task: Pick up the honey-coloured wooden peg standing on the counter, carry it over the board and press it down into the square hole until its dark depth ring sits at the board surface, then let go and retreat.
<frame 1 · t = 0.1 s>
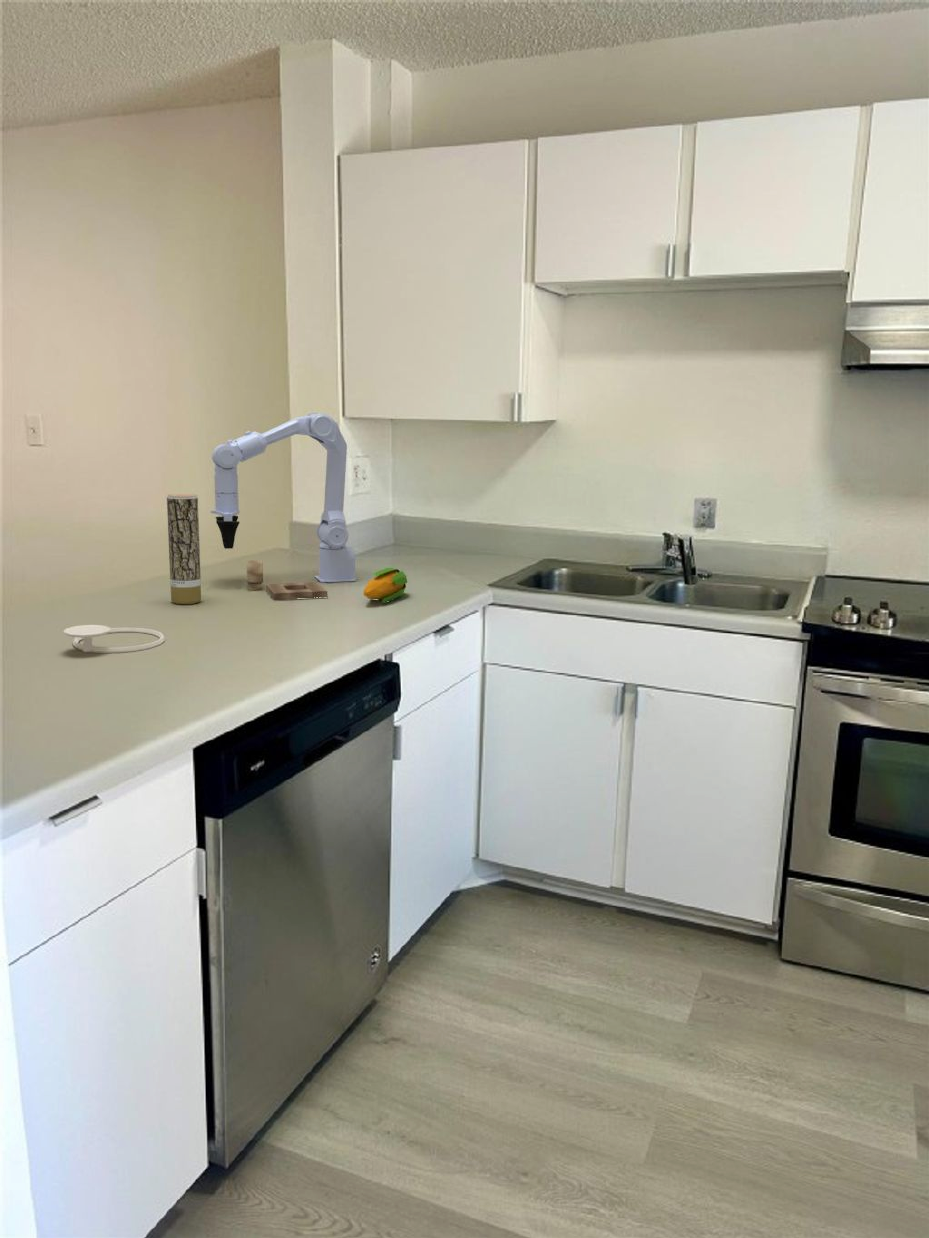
hand: (228, 546, 235), 10 cm above the table, tool pointing down, fingers open, 7 cm apart
peg: (255, 589, 232), on the table
hand towel holder: (113, 646, 177), on the table
paper tube: (186, 603, 215), on the table
corn: (384, 601, 225), on the table
board: (295, 594, 227), on the table
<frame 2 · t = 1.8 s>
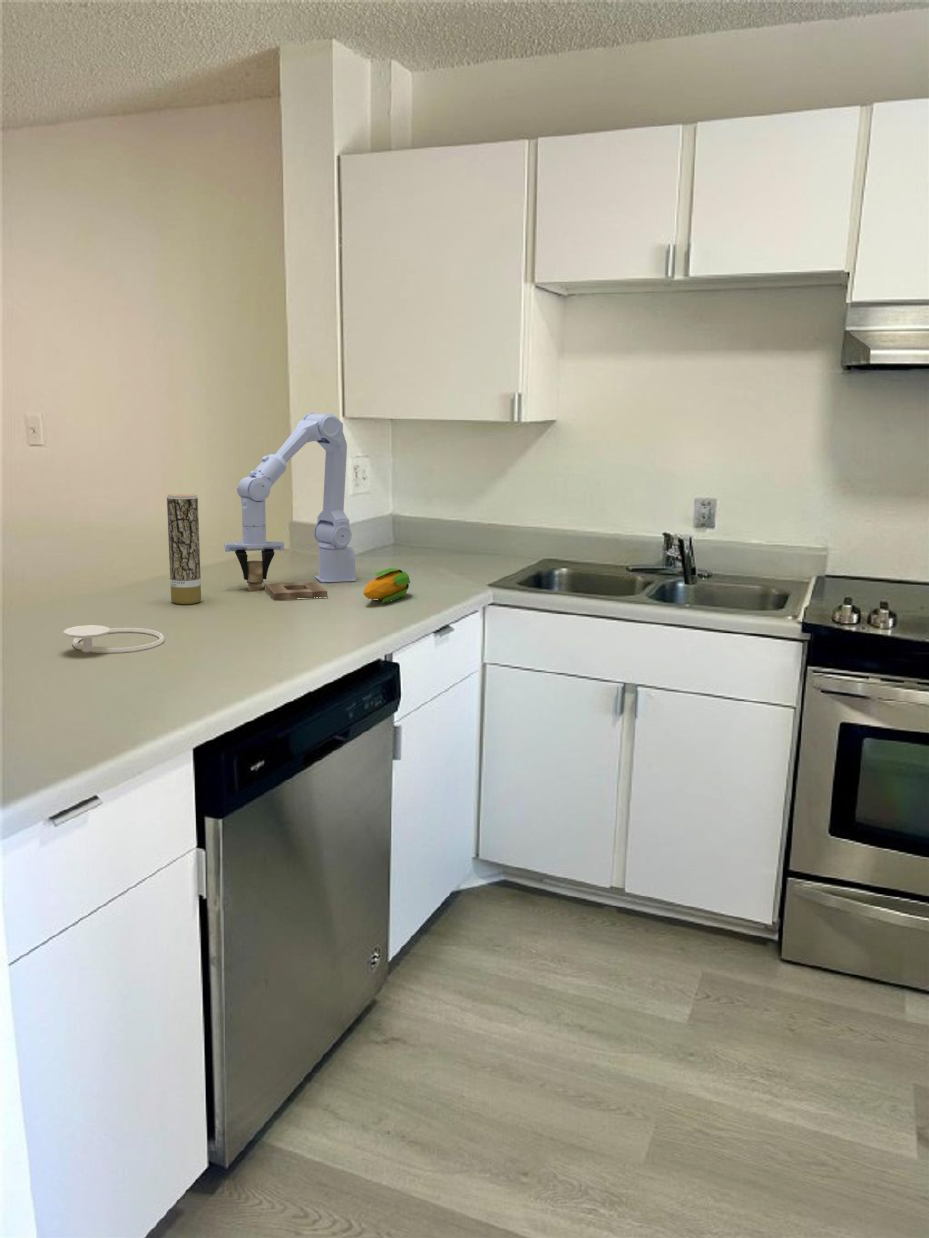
hand: (255, 578, 232), 3 cm above the table, tool pointing down, fingers closed on peg, 4 cm apart
peg: (255, 589, 232), on the table, touching gripper
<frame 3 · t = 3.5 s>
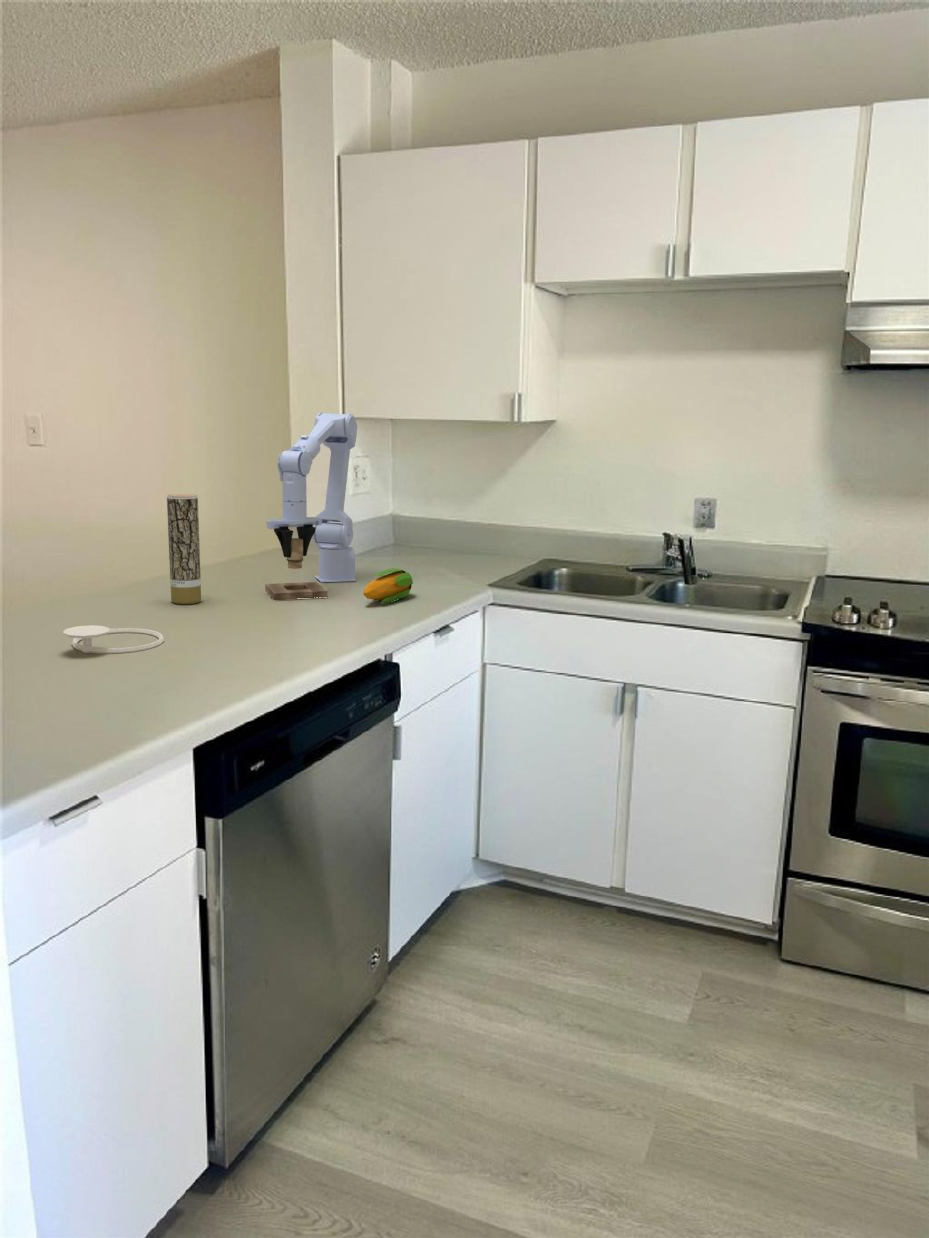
hand: (295, 556, 225), 10 cm above the table, tool pointing down, fingers closed on peg, 4 cm apart
peg: (294, 567, 226), point 7 cm above the table, touching gripper
when the fingers open (3 cm above the table, at t = 5.1 s): peg stays where it is, resting in board.
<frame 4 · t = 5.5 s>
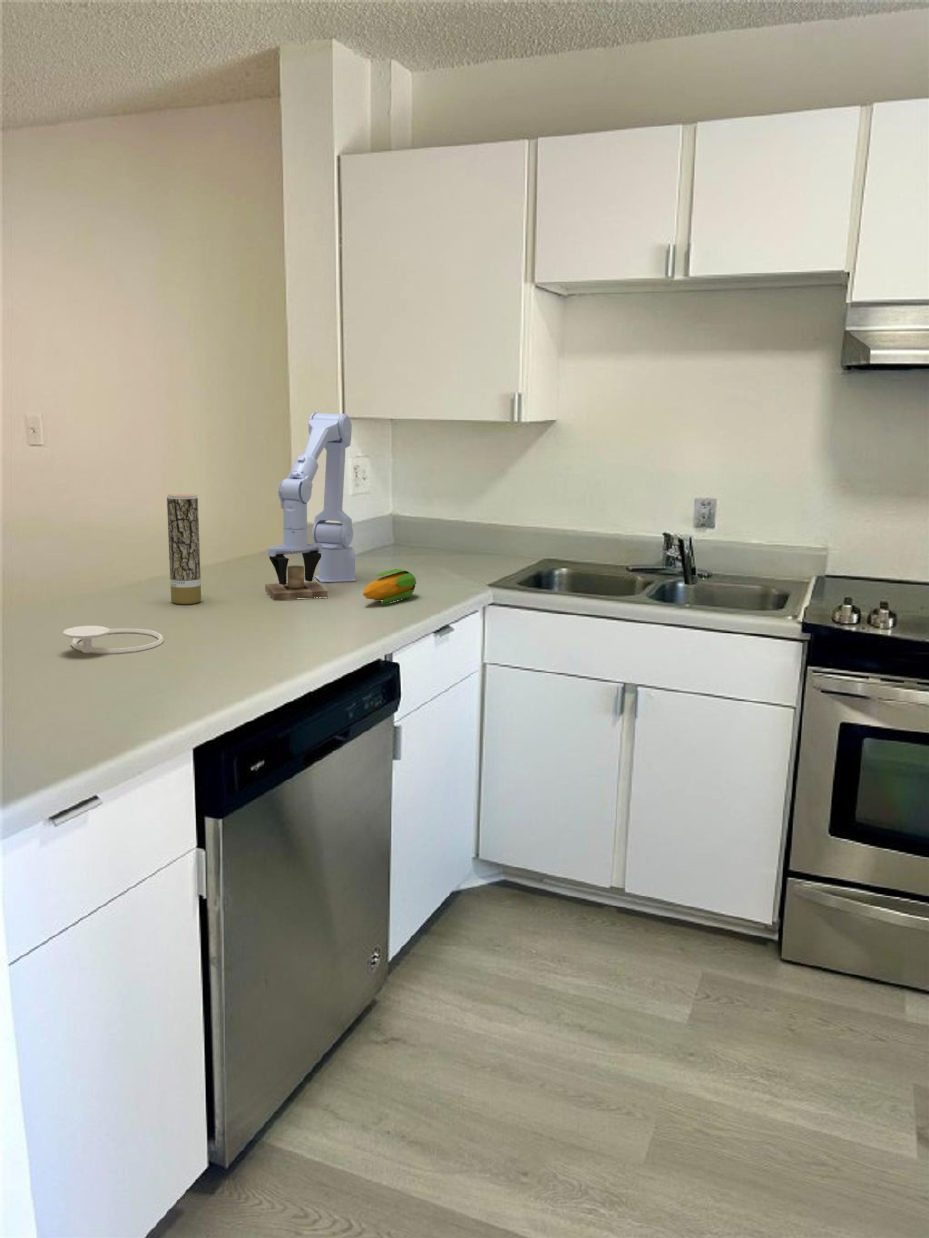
hand: (295, 582, 227), 3 cm above the table, tool pointing down, fingers open, 7 cm apart
peg: (295, 594, 228), resting in board
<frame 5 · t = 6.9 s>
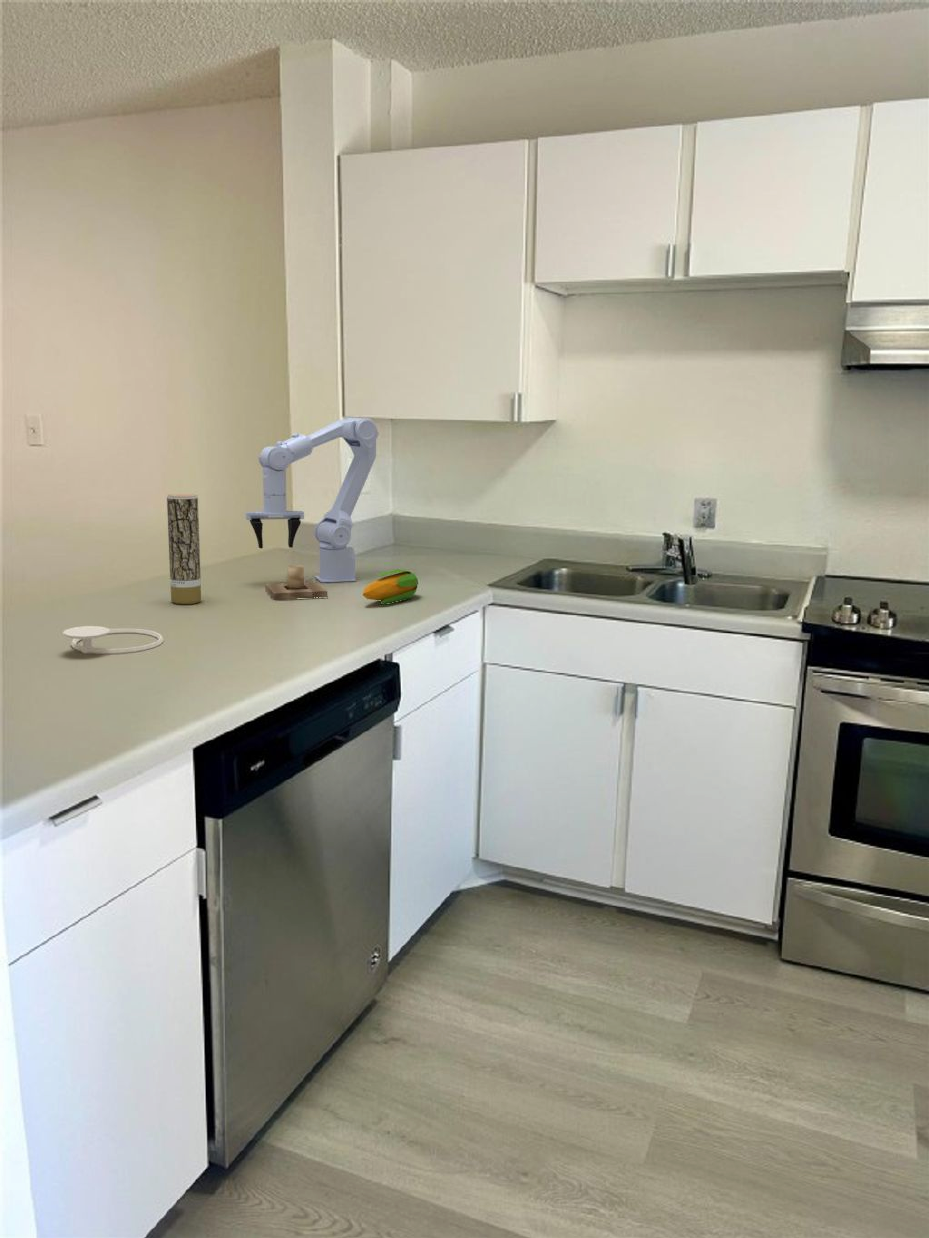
hand: (275, 547, 236), 10 cm above the table, tool pointing down, fingers open, 7 cm apart
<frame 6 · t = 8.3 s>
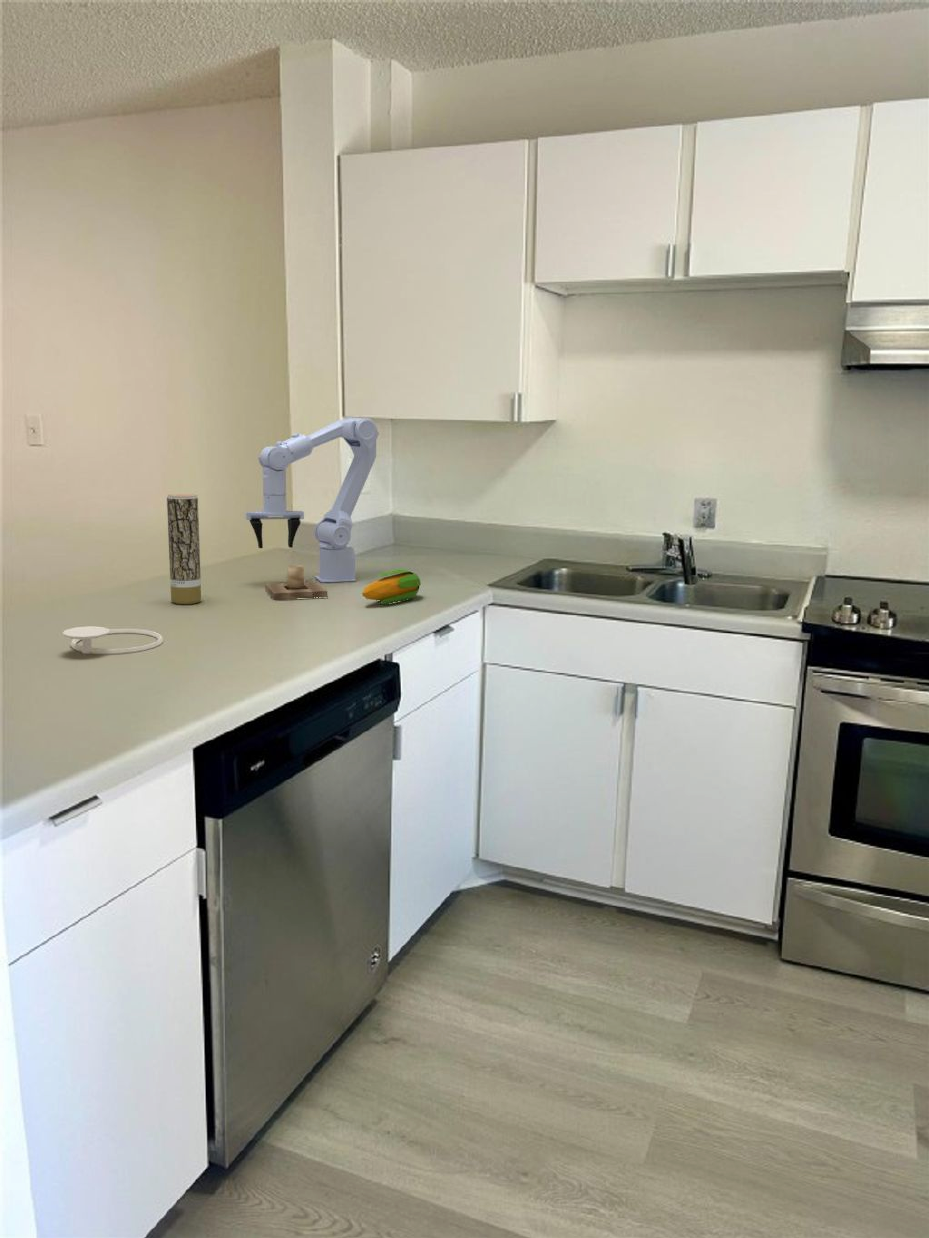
hand: (275, 547, 236), 10 cm above the table, tool pointing down, fingers open, 7 cm apart
at the end: peg 0.1 cm off-centre on the board, point 0.0 cm above the board's base; peg tilted 0°; the gripper is holding nothing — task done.
